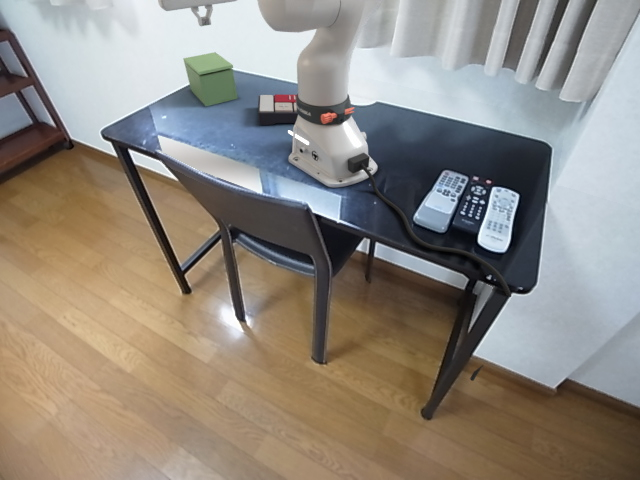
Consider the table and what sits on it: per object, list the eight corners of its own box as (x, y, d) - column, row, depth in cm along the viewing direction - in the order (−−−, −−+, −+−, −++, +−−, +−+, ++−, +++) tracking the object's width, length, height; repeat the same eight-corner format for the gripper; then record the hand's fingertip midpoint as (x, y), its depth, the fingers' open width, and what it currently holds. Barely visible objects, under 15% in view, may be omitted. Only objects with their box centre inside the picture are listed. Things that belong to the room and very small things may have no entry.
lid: (233, 67, 107) (232, 64, 106) (199, 75, 103) (198, 72, 103) (215, 54, 116) (215, 52, 115) (183, 61, 112) (183, 58, 112)
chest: (237, 98, 114) (232, 69, 108) (205, 106, 110) (199, 76, 104) (221, 83, 122) (215, 55, 116) (191, 90, 118) (183, 61, 112)
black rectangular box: (313, 110, 100) (257, 110, 99) (313, 125, 103) (258, 125, 102) (310, 93, 108) (258, 92, 107) (310, 107, 111) (259, 107, 110)
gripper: (151, -34, 83) (169, 34, 93) (236, -42, 91) (244, 21, 101) (144, -37, 87) (162, 28, 97) (226, -45, 95) (235, 16, 104)
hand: (205, 25), depth 99 cm, fingers closed
